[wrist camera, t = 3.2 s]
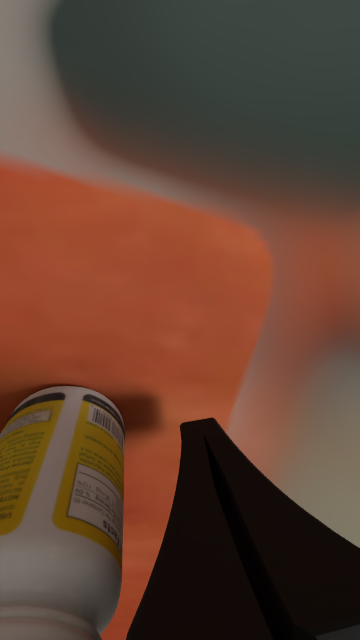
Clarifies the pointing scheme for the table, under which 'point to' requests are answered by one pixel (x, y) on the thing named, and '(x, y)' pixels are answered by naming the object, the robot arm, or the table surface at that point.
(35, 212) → the table surface
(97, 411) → the supplement bottle
